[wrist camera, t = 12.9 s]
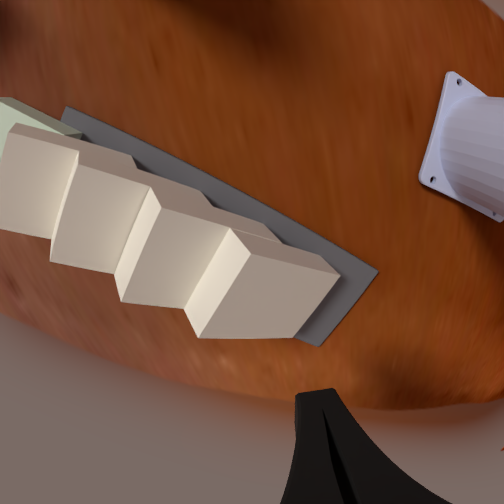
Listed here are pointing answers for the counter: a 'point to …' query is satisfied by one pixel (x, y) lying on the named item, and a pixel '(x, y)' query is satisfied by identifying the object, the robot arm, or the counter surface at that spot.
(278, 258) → the domino
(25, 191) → the domino
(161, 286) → the domino
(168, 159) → the domino mat
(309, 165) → the counter surface
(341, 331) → the counter surface
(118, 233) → the domino
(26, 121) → the pale green rectangular block
